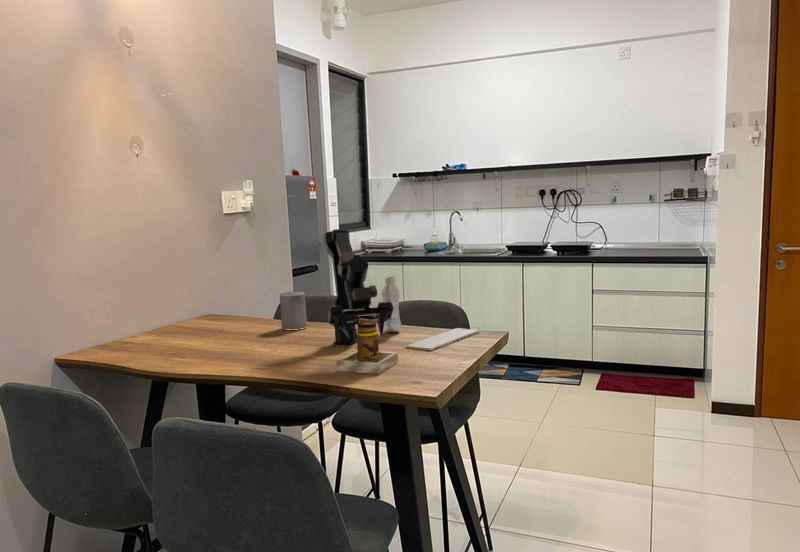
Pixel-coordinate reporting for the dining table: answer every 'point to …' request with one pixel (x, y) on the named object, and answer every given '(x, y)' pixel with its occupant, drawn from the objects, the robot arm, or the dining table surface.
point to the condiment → (367, 342)
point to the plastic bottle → (392, 295)
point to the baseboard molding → (442, 339)
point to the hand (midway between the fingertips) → (366, 336)
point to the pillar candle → (293, 310)
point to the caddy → (367, 363)
